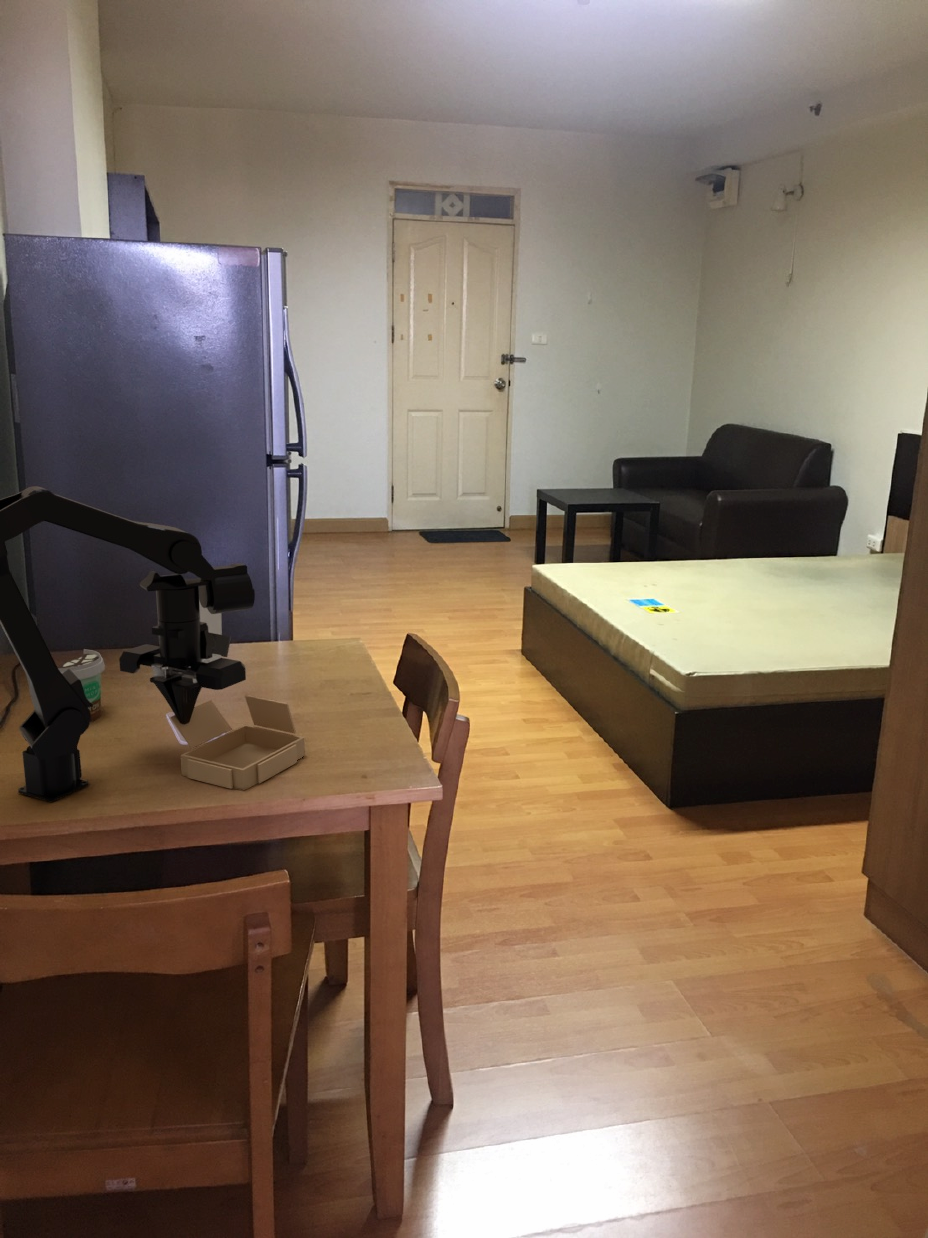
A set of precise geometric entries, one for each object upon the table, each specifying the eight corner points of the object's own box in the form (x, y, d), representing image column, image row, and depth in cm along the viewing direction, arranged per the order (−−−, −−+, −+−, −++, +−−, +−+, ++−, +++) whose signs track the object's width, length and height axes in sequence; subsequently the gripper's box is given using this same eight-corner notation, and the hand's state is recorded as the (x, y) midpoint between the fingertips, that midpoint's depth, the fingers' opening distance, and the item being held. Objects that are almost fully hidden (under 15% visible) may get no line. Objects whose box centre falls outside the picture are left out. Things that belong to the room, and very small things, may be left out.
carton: (244, 793, 131) (243, 772, 130) (178, 776, 136) (177, 756, 135) (307, 757, 143) (307, 738, 143) (245, 743, 148) (245, 724, 148)
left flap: (192, 747, 138) (170, 716, 139) (191, 748, 138) (169, 718, 139) (232, 729, 145) (211, 699, 146) (231, 730, 145) (210, 701, 146)
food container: (81, 733, 151) (75, 672, 149) (45, 730, 152) (40, 669, 150) (123, 708, 163) (119, 650, 160) (90, 705, 164) (85, 648, 162)
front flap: (295, 733, 144) (286, 704, 141) (254, 724, 147) (244, 695, 144) (296, 732, 144) (287, 703, 141) (255, 723, 147) (245, 694, 144)
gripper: (268, 614, 138) (272, 717, 142) (169, 599, 147) (175, 697, 150) (216, 631, 129) (221, 741, 133) (113, 614, 137) (120, 718, 141)
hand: (184, 723), depth 139 cm, fingers closed
